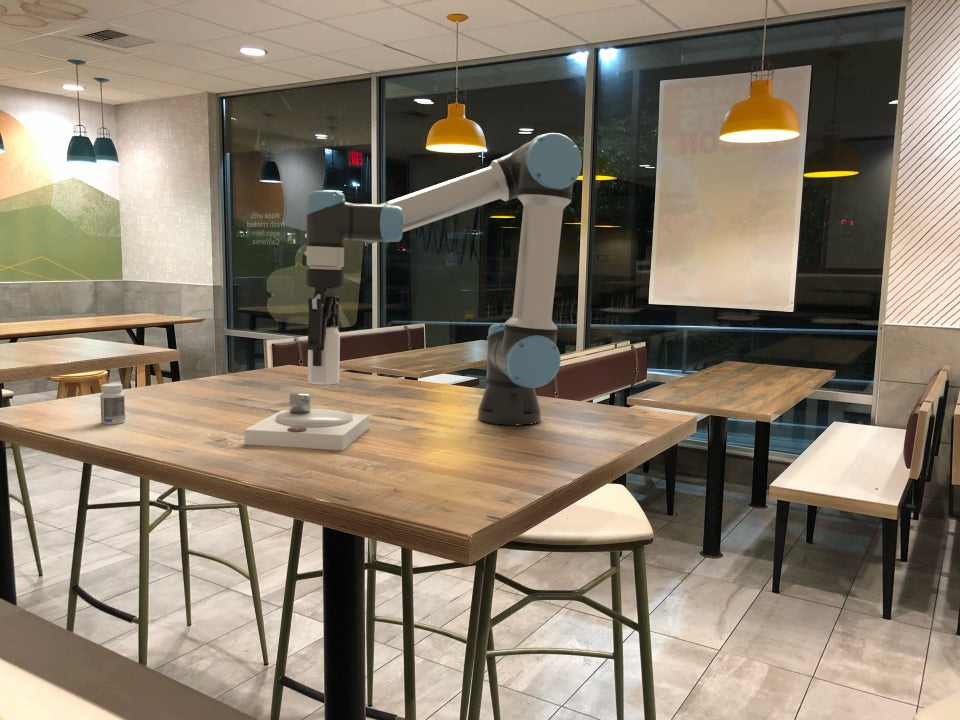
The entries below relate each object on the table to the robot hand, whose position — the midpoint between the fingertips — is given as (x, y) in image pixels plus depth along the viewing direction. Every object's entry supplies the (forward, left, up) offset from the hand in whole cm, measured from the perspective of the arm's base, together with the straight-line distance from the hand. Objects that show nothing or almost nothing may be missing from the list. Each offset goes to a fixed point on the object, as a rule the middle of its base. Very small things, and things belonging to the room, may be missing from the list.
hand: (323, 378), depth 156 cm
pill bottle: (+47, -1, -12) cm, 49 cm away
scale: (+2, 0, -12) cm, 12 cm away
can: (0, 0, -1) cm, 1 cm away
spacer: (+7, -5, -8) cm, 12 cm away
